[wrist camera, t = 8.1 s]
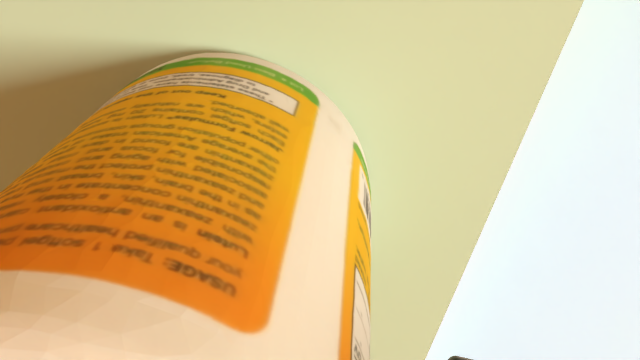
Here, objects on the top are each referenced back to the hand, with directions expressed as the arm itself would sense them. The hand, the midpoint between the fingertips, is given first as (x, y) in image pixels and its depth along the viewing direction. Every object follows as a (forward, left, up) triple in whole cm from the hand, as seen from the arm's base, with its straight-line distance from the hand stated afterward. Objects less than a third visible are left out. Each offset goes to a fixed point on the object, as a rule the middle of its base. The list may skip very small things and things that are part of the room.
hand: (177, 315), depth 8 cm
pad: (0, 0, -4) cm, 4 cm away
